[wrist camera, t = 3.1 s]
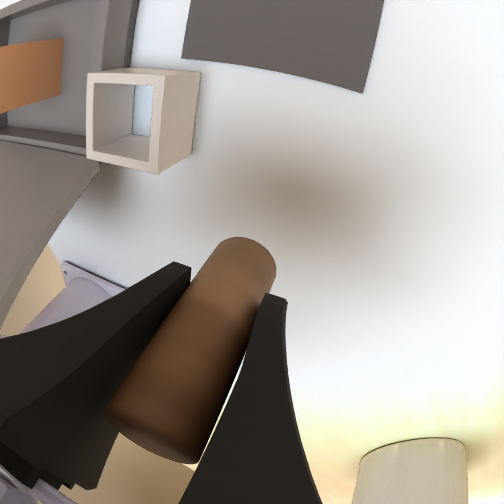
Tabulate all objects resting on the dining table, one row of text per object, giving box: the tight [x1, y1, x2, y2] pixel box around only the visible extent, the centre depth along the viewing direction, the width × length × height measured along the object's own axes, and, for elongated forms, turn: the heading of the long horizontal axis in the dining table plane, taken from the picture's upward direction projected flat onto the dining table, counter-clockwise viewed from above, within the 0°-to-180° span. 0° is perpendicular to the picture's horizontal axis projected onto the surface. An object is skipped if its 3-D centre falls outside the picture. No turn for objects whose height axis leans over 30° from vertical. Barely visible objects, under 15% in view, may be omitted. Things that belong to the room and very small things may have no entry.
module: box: [0, 38, 64, 114], centre depth 13 cm, size 4×4×6 cm
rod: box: [103, 237, 276, 464], centre depth 9 cm, size 2×2×7 cm
